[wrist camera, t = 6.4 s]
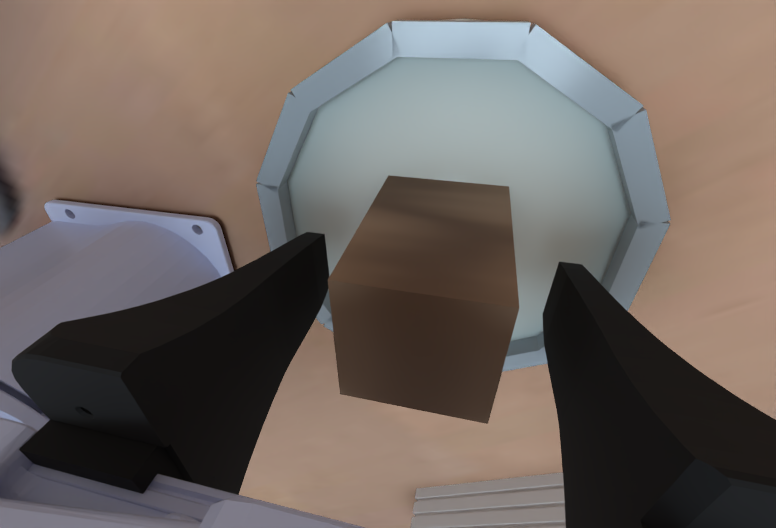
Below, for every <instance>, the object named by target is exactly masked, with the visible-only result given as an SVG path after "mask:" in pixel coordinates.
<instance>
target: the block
mask: <svg viewBox="0 0 776 528" xmlns="http://www.w3.org/2000/svg"><path fill="white" fill-rule="evenodd" d="M328 288H329V297H330V306H331V315H332V324H333V333H334V342H335V351H336V360H337V369H338V378H339V387H340V394H343V395H347V396H352V397H357V398H362V399H367V400H372V401H377V402H382V403H387V404H392V405H397V406H402V407H407V408H412V409H417V410H422V411H427V412H432V413H437V414H442V415H447V416H452V417H457V418H462V419H467V420H472V421H477V422H481V423H486V424H488V421H489V417H490V413H491V410H492V406H493V402H494V399H495V395H496V392H497V388H498V384H499V381H500V377H501V373H502V370H503V366H504V362H505V359H506V355H507V351H508V348H509V344H510V341H511V337H512V333H513V330H514V326H515V322H516V319H517V315H518V311H519V297H518V285H517V274H516V262H515V250H514V239H513V227H512V215H511V203H510V192H509V186H499V185H488V184H477V183H466V182H455V181H444V180H434V179H423V178H412V177H401V176H390V175H388V177H387V179H386V180H385V182H384V184H383V186H382V187H381V189H380V191H379V192H378V194H377V196H376V198H375V199H374V201H373V203H372V205H371V206H370V208H369V210H368V211H367V213H366V215H365V217H364V218H363V220H362V222H361V223H360V225H359V227H358V229H357V230H356V232H355V234H354V235H353V237H352V239H351V241H350V242H349V244H348V246H347V247H346V249H345V251H344V253H343V254H342V256H341V258H340V260H339V261H338V263H337V265H336V266H335V268H334V270H333V272H332V273H331V275H330V277H329V278H328Z"/></svg>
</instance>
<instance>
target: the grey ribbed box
mask: <svg viewBox="0 0 776 528" xmlns="http://www.w3.org/2000/svg"><path fill="white" fill-rule="evenodd" d="M415 499H416V500H417V502H414V507H413V514H414V515H415V517H412V520H411V527H410V528H566V523H565V499H564V482H563V472H561V473H552V474H543V475H534V476H525V477H516V478H507V479H498V480H489V481H480V482H471V483H462V484H453V485H444V486H435V487H427V488H418V489H416V494H415Z"/></svg>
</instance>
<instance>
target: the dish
mask: <svg viewBox="0 0 776 528" xmlns="http://www.w3.org/2000/svg"><path fill="white" fill-rule="evenodd" d="M530 24H531V22H529V21H491V20H479V19H468V18H459V19H445V20H395V21H392V22H388V23H386V24H385V25H383V26H382V27H380V28H379V29H378V30H376V31H375V32H373V33H372V34H370V35H369V36H367V37H366V38H365V39H363V40H362V41H360V42H359V43H357V44H356V45H354V46H353V47H351V48H350V49H349V50H347V51H346V52H344V53H343V54H341V55H340V56H338V57H337V58H336V59H334V60H333V61H331V62H330V63H328V64H327V65H325V66H324V67H323V68H321V69H320V70H318V71H317V72H315V73H314V74H312V75H311V76H310V77H308V78H307V79H305V80H304V81H302V82H301V83H299V84H298V85H297V86H295V87H294V88H292V89H291V92H289V93H288V95H287V98H286V100H285V103H284V106H283V109H282V111H281V114H280V117H279V120H278V122H277V125H276V128H275V131H274V133H273V136H272V139H271V142H270V144H269V147H268V150H267V153H266V155H265V158H264V161H263V164H262V167H261V169H260V172H259V175H258V178H257V180H256V181H257V182H258V183H257V184H256V186H257V191H258V195H259V200H260V204H261V209H262V214H263V218H264V223H265V228H266V232H267V237H268V241H269V246H270V251H273V250H275V249H276V248H278V247H280V246H282V245H283V244H285V243H287V242H289V241H290V240H292V239H294V238H296V237H298V236H300V235H302V234H304V233H306V232H313V233H321V234H325V241H326V250H327V259H328V267H329V276H330V275H331V273H332V272H333V270H334V268H335V266H336V265H337V263H338V261H339V260H340V258H341V256H342V254H343V253H344V251H345V249H346V247H347V246H348V244H349V242H350V241H351V239H352V237H353V235H354V234H355V232H356V230H357V229H358V227H359V225H360V223H361V222H362V220H363V218H364V217H365V215H366V213H367V211H368V210H369V208H370V206H371V205H372V203H373V201H374V199H375V198H376V196H377V194H378V192H379V191H380V189H381V187H382V186H383V184H384V182H385V180H386V179H387V177H388V175H390V176H401V177H412V178H423V179H434V180H444V181H455V182H466V183H477V184H488V185H499V186H509V192H510V203H511V215H512V227H513V239H514V250H515V262H516V274H517V285H518V297H519V311H518V315H517V319H516V322H515V326H514V330H513V333H512V337H511V341H510V344H509V348H508V351H507V355H506V359H505V362H504V366H503V370H502V371H508V370H514V369H519V368H525V367H530V366H536V365H542V364H547V357H546V352H545V347H544V337H543V311H544V308H545V305H546V301H547V298H548V295H549V292H550V289H551V286H552V282H553V279H554V276H555V273H556V270H557V267H558V263H559V262H567V263H576V264H582V265H583V266H584V267H585V268H586V269H587V270H588V271H589V272H590V273H591V274H592V275H593V276H594V277H595V278H596V279H597V280H598V282H599V283H600V284H601V285H602V286H603V287H604V288H605V289H606V290H607V291H608V292H609V293H610V294H611V295H612V296H613V297H614V298H615V299H616V300H617V301H618V302H619V303H620V304H621V305H622V306H623V307H624V308H625V309H626V310H627V311H628V309H629V307H630V305H631V303H632V301H633V299H634V297H635V295H636V293H637V291H638V289H639V287H640V285H641V283H642V281H643V279H644V277H645V275H646V272H647V270H648V268H649V266H650V264H651V262H652V260H653V258H654V256H655V254H656V252H657V250H658V248H659V246H660V244H661V242H662V240H663V238H664V236H665V234H666V232H667V229H668V227H669V225H670V223H669V222H668V221H669V220H671V219H670V214H669V210H668V205H667V201H666V196H665V192H664V188H663V183H662V179H661V174H660V170H659V165H658V161H657V156H656V152H655V147H654V143H653V138H652V134H651V130H650V125H649V121H648V116H647V112H646V109H644V108H643V105H642V104H641V103H639V102H638V101H637V100H635V99H634V98H633V97H631V96H630V95H629V94H627V93H626V92H625V91H623V90H622V89H621V88H619V87H618V86H617V85H615V84H614V83H613V82H611V81H610V80H609V79H608V78H606V77H605V76H604V75H602V74H601V73H600V72H598V71H597V70H596V69H594V68H593V67H592V66H590V65H589V64H588V63H586V62H585V61H584V60H582V59H581V58H580V57H578V56H577V55H576V54H574V53H573V52H572V51H571V50H569V49H568V48H567V47H565V46H564V45H563V44H561V43H560V42H559V41H557V40H556V39H555V38H553V37H552V36H551V35H549V34H548V33H547V32H545V31H544V30H543V29H541V28H540V27H539V26H537V25H536V24H535V23H533V24H532V25H531V26H530ZM316 318H317V320H318V321H319V322H320V323H321V324H324V323H325V324H324V327H326V328H328V329H329V330H331V331H333V324H332V315H331V306H330V297H329V289H328V291H327V294H326V297H325V299H324V302H323V304H322V307H321V309H320V311H319V313H318V315H317V316H316Z"/></svg>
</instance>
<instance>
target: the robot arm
mask: <svg viewBox="0 0 776 528" xmlns="http://www.w3.org/2000/svg"><path fill="white" fill-rule="evenodd" d="M45 210H46V212H47V214H48V216H49V217H50V219H51V221H52V222H50V223H48V224H46V225H44V226H42V227H40V228H38V229H36V230H34V231H32V232H30V233H28V234H27V235H25V236H23V237H21V238H19V239H17V240H15V241H13V242H11V243H9V244H7V245H5V246H3V247H1V248H0V528H365V527H361V526H357V525H353V524H349V523H345V522H342V521H338V520H334V519H330V518H326V517H322V516H319V515H315V514H311V513H307V512H303V511H299V510H296V509H292V508H288V507H284V506H280V505H276V504H273V503H269V502H265V501H261V500H256V499H252V498H249V497H245V496H241V495H238V494H239V491H240V488H241V485H242V482H243V479H244V476H245V473H246V470H247V467H248V464H249V461H250V459H251V456H252V453H253V451H254V448H255V445H256V442H257V440H258V437H259V434H260V432H261V429H262V426H263V424H264V421H265V419H266V417H267V414H268V412H269V409H270V407H271V404H272V402H273V399H274V397H275V395H276V392H277V390H278V388H279V385H280V383H281V381H282V378H283V376H284V374H285V372H286V370H287V368H288V366H289V364H290V362H291V360H292V359H293V357H294V355H295V353H296V352H297V350H298V348H299V346H300V345H301V343H302V341H303V339H304V338H305V336H306V334H307V332H308V331H309V329H310V327H311V325H312V324H313V322H314V320H315V318H316V316H317V315H318V313H319V311H320V309H321V307H322V304H323V302H324V299H325V297H326V294H327V291H328V289H329V288H328V278H329V277H330V276H329V267H328V259H327V250H326V241H325V234H321V233H313V232H306V233H304V234H302V235H300V236H298V237H296V238H294V239H292V240H290V241H289V242H287V243H285V244H283V245H282V246H280V247H278V248H276V249H275V250H273V251H271V252H269V253H267V254H266V255H264V256H262V257H260V258H259V259H257V260H255V261H253V262H251V263H249V264H247V265H245V266H243V267H241V268H239V269H237V270H235V271H234V269H233V266H232V263H231V259H230V256H229V252H228V249H227V246H226V242H225V239H224V235H223V232H222V229H221V226H220V224H219V223H218V222H217V221H215V220H214V219H212V218H209V217H200V216H191V215H183V214H174V213H166V212H157V211H148V210H140V209H131V208H123V207H114V206H105V205H97V204H88V203H80V202H71V201H62V200H51V201H49V202H46V203H45ZM198 226H200V227H201V229H202V230H201V229H200V228H199V227H198ZM543 337H544V347H545V352H546V357H547V363H548V368H549V373H550V378H551V383H552V388H553V393H554V398H555V403H556V408H557V414H558V421H559V429H560V441H561V453H562V467H563V482H564V499H565V523H566V528H776V420H775V419H773V418H771V417H770V416H768V415H766V414H764V413H763V412H761V411H759V410H758V409H756V408H755V407H753V406H751V405H750V404H748V403H746V402H745V401H743V400H742V399H740V398H738V397H737V396H735V395H734V394H732V393H731V392H729V391H728V390H726V389H725V388H723V387H722V386H720V385H719V384H717V383H716V382H714V381H713V380H711V379H710V378H708V377H707V376H706V375H704V374H703V373H701V372H700V371H699V370H697V369H696V368H694V367H693V366H692V365H690V364H689V363H688V362H686V361H685V360H684V359H682V358H681V357H680V356H679V355H677V354H676V353H675V352H673V351H672V350H671V349H670V348H668V347H667V346H666V345H665V344H663V343H662V342H661V341H660V340H659V339H657V338H656V337H655V336H654V335H653V334H652V333H651V332H649V331H648V330H647V329H646V328H645V327H644V326H643V325H642V324H640V323H639V322H638V321H637V320H636V319H635V318H634V317H633V316H632V315H631V314H630V313H629V312H628V311H627V310H626V309H625V308H624V307H623V306H622V305H621V304H620V303H619V302H618V301H617V300H616V299H615V298H614V297H613V296H612V295H611V294H610V293H609V292H608V291H607V290H606V289H605V288H604V287H603V286H602V285H601V284H600V283H599V282H598V280H597V279H596V278H595V277H594V276H593V275H592V274H591V273H590V272H589V271H588V270H587V269H586V268H585V267H584V266H583V265H582V264H576V263H567V262H559V263H558V267H557V270H556V273H555V276H554V279H553V282H552V286H551V289H550V292H549V295H548V298H547V301H546V305H545V308H544V311H543Z"/></svg>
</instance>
